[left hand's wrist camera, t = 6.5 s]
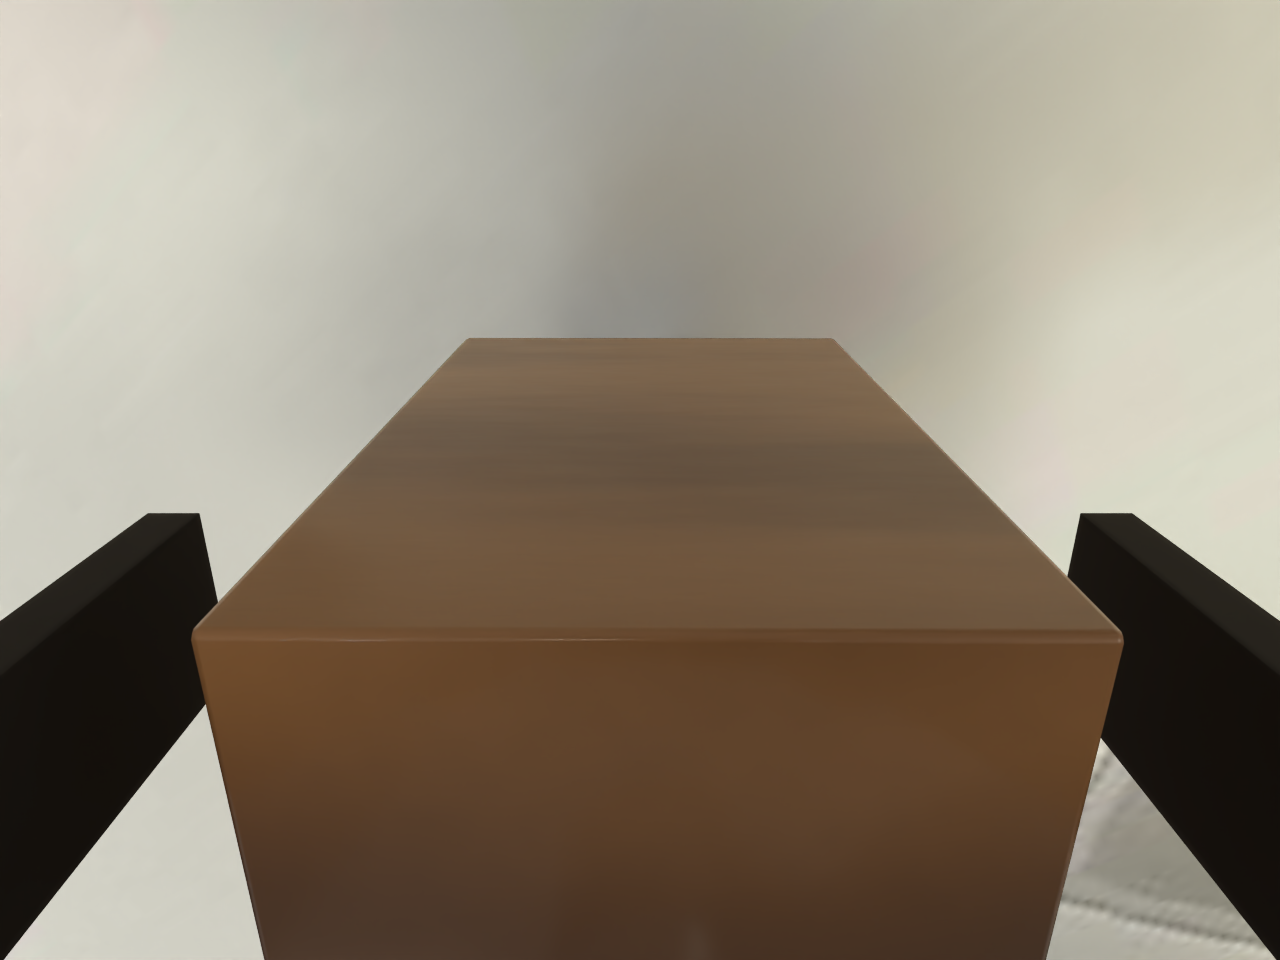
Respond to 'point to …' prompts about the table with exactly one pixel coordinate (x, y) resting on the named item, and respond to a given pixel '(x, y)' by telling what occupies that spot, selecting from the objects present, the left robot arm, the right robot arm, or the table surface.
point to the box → (655, 676)
